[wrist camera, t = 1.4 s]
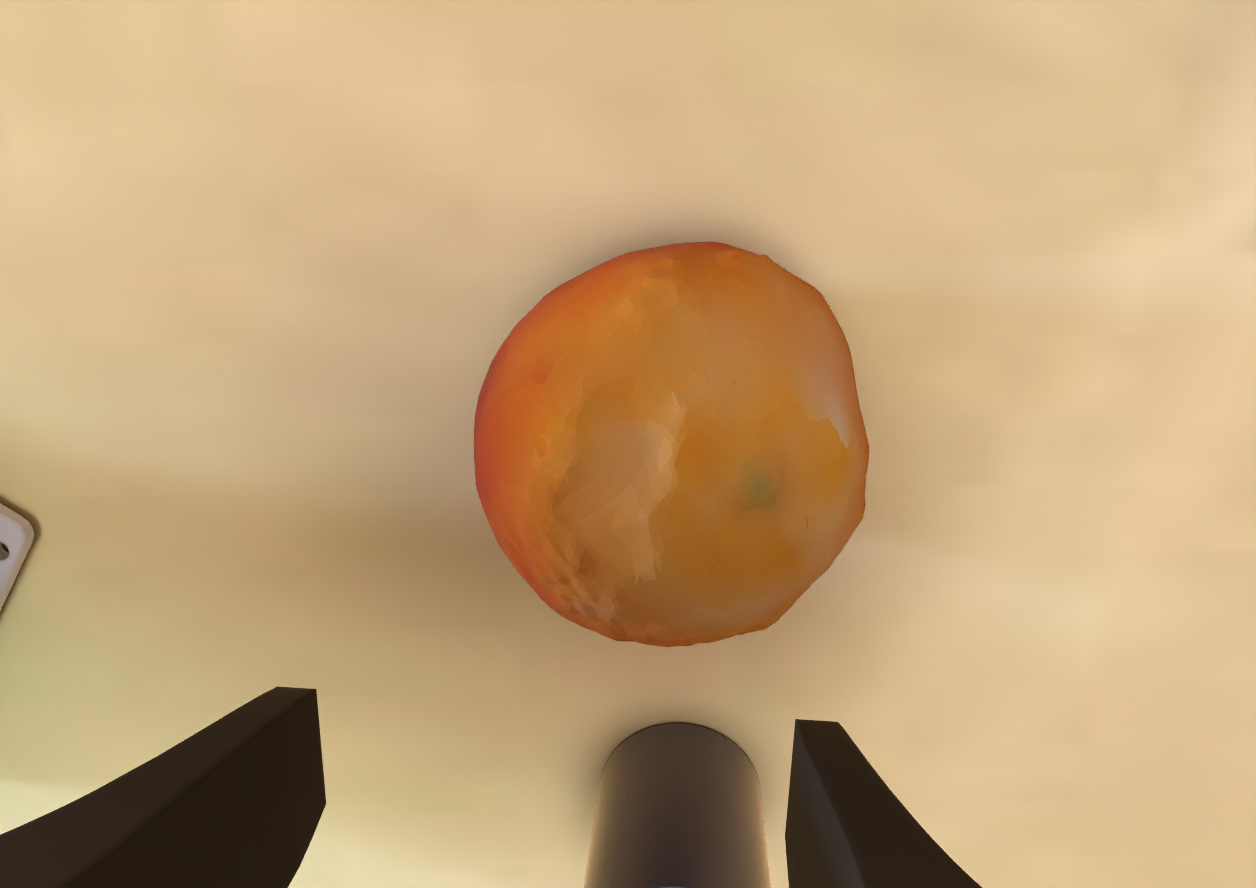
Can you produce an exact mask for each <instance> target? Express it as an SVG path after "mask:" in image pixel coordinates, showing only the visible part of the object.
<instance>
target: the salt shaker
mask: <svg viewBox="0 0 1256 888" xmlns="http://www.w3.org/2000/svg"><path fill="white" fill-rule="evenodd" d="M584 888H771V886H770V877H769V867H768V858H767V849H766V839H765V830H764V821H763V811H762V802H761V792H760V784H759V780H758V776H757V773H756V771H755V769H754V767H753V765H752V763H751V761H750V760H749V758H748V757H747V756H746V755H745V753H744V752H743V751H742V750H741V749H740V748H739V747H738V746H737V745H736V744H735V743H734V742H732V741H731V740H729V739H728V738H726V737H725V736H723V735H721V734H719V733H717V732H715V731H713V730H710V729H708V728H705V727H701V726H697V725H691V724H682V723H672V724H662V725H658V726H653V727H650V728H647V729H644V730H642V731H640V732H638V733H636V734H634V735H632V736H631V737H629V738H628V739H626V740H625V741H624V742H623V743H621V744H620V745H619V746H618V747H617V748H616V749H615V751H614V752H613V753H612V754H611V756H610V757H609V759H608V760H607V763H606V765H605V767H604V769H603V773H602V776H601V781H600V788H599V794H598V800H597V807H596V813H595V819H594V826H593V832H592V838H591V845H590V851H589V857H588V864H587V870H586V876H585V883H584Z"/></svg>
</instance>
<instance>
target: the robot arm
mask: <svg viewBox="0 0 1256 888" xmlns="http://www.w3.org/2000/svg"><path fill="white" fill-rule="evenodd" d="M33 539H34V531H33V527H32V526H31V524H30V523H29V521H28V520H26V519H25V518H24V517H23V516H21V515H19V514H18V513H16V512H14V511H12V510H11V509H9V508H7V507H6V506H4V505H2V504H1V503H0V611H1V609H2V606H3V604H4V602H5V600H6V598H7V596H8V594H9V591H10V589H11V587H12V585H13V583H14V581H15V579H16V576H17V574H18V572H19V570H20V568H21V566H22V564H23V561H24V559H25V557H26V555H27V553H28V551H29V549H30V546H31V544H32V542H33ZM1 542H2V543H3V544H5V545H6V546H7V548H8V550H9V553H7V552H6V551H5V550H4V549H3V548H2V546H1ZM325 805H326V797H325V786H324V774H323V763H322V751H321V740H320V728H319V717H318V705H317V694H316V689H305V688H289V687H276V688H274V689H272V690H270V691H268V692H266V693H264V694H262V695H260V696H258V697H257V698H255V699H253V700H251V701H250V702H248V703H246V704H244V705H243V706H241V707H239V708H238V709H236V710H234V711H233V712H231V713H229V714H228V715H226V716H224V717H223V718H221V719H219V720H218V721H216V722H214V723H213V724H211V725H209V726H208V727H206V728H204V729H203V730H201V731H199V732H198V733H196V734H194V735H193V736H191V737H189V738H187V739H186V740H184V741H182V742H181V743H179V744H177V745H176V746H174V747H172V748H171V749H169V750H167V751H166V752H164V753H162V754H160V755H159V756H157V757H155V758H153V759H152V760H150V761H148V762H146V763H144V764H142V765H141V766H139V767H137V768H135V769H133V770H131V771H130V772H128V773H126V774H124V775H122V776H121V777H119V778H117V779H115V780H113V781H111V782H110V783H108V784H106V785H104V786H102V787H100V788H99V789H97V790H95V791H93V792H91V793H89V794H87V795H85V796H83V797H81V798H79V799H77V800H75V801H73V802H71V803H69V804H67V805H65V806H63V807H61V808H59V809H57V810H55V811H53V812H50V813H48V814H46V815H44V816H42V817H39V818H37V819H35V820H33V821H31V822H28V823H26V824H24V825H22V826H20V827H17V828H15V829H13V830H11V831H8V832H6V833H4V834H1V835H0V888H288V886H289V884H290V883H291V881H292V879H293V877H294V875H295V874H296V872H297V870H298V868H299V867H300V864H301V862H302V860H303V858H304V855H305V853H306V851H307V849H308V846H309V844H310V842H311V839H312V837H313V835H314V832H315V830H316V827H317V825H318V822H319V820H320V817H321V815H322V812H323V810H324V808H325ZM785 841H786V854H787V867H788V880H789V888H982V887H981V886H980V885H979V884H977V883H976V882H975V881H974V880H973V879H972V878H971V877H970V876H969V875H968V874H967V873H965V872H964V871H963V870H962V869H961V868H960V867H959V866H958V865H957V864H956V863H955V862H954V861H953V860H952V859H951V858H950V857H949V856H948V855H947V854H946V853H945V852H944V851H943V849H942V848H941V847H940V846H939V845H938V844H937V843H936V842H935V841H934V840H933V839H932V838H931V837H930V836H929V835H928V833H927V832H926V831H925V830H924V829H923V828H922V827H921V826H920V825H919V823H918V822H917V821H916V820H915V819H914V818H913V816H912V815H911V814H910V813H909V812H908V810H907V809H906V808H905V807H904V806H903V805H902V803H901V802H900V801H899V800H898V799H897V797H896V796H895V795H894V794H893V793H892V791H891V790H890V789H889V788H888V786H887V785H886V784H885V783H884V781H883V780H882V779H881V778H880V776H879V775H878V774H877V772H876V771H875V770H874V769H873V767H872V766H871V765H870V763H869V762H868V761H867V759H866V758H865V757H864V755H863V754H862V753H861V751H860V750H859V749H858V747H857V746H856V745H855V743H854V742H853V741H852V739H851V738H850V736H849V735H848V734H847V732H846V731H845V730H844V728H843V727H842V726H841V725H840V724H839V723H838V722H831V721H815V720H799V719H796V720H795V731H794V742H793V753H792V765H791V776H790V787H789V798H788V810H787V821H786V832H785Z"/></svg>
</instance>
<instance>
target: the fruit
mask: <svg viewBox="0 0 1256 888" xmlns="http://www.w3.org/2000/svg"><path fill="white" fill-rule="evenodd" d="M868 459H869V444H868V440H867V435H866V431H865V427H864V423H863V419H862V415H861V411H860V407H859V401H858V396H857V390H856V383H855V376H854V369H853V364H852V358H851V353H850V350H849V346H848V343H847V341H846V338H845V336H844V334H843V331H842V329H841V327H840V325H839V324H838V322H837V320H836V318H835V316H834V315H833V313H832V311H831V309H830V308H829V306H828V304H827V303H826V301H825V299H824V298H823V296H822V294H821V293H820V292H819V291H817V290H816V289H815V288H814V287H813V286H811V285H810V284H808V283H806V282H805V281H803V280H801V279H800V278H798V277H796V276H795V275H793V274H791V273H790V272H788V271H787V270H785V269H784V268H782V267H781V266H779V265H778V264H776V263H774V262H773V261H772V260H771V259H770V258H769V257H767V256H765V255H758V254H755V253H752V252H749V251H746V250H743V249H739V248H736V247H733V246H730V245H727V244H723V243H717V242H696V243H681V244H672V245H667V246H661V247H656V248H650V249H645V250H640V251H635V252H629V253H626V254H623V255H621V256H618V257H616V258H614V259H611V260H609V261H607V262H604V263H602V264H600V265H598V266H596V267H594V268H592V269H590V270H588V271H586V272H585V273H583V274H581V275H579V276H577V277H575V278H573V279H571V280H569V281H568V282H566V283H564V284H562V285H560V286H558V287H557V288H555V289H554V290H552V291H551V292H550V293H548V294H547V295H546V296H544V297H543V298H542V299H541V301H540V302H539V303H538V304H537V305H536V306H535V307H534V308H533V309H532V310H531V311H530V312H529V313H528V314H527V315H526V316H525V317H524V318H523V319H522V320H521V321H520V322H519V323H518V324H517V325H516V326H515V327H514V329H513V330H512V331H511V333H510V334H509V336H508V337H507V338H506V340H505V341H504V343H503V344H502V346H501V347H500V349H499V351H498V352H497V354H496V356H495V357H494V359H493V361H492V362H491V365H490V367H489V370H488V373H487V375H486V378H485V380H484V383H483V386H482V388H481V391H480V394H479V398H478V403H477V408H476V414H475V426H474V460H475V477H476V486H477V491H478V494H479V497H480V500H481V503H482V506H483V509H484V512H485V514H486V517H487V519H488V522H489V524H490V526H491V528H492V530H493V533H494V535H495V537H496V539H497V541H498V543H499V545H500V547H501V548H502V550H503V551H504V553H505V554H506V555H507V557H508V558H509V560H510V561H511V563H512V564H513V566H514V567H515V568H516V570H517V571H518V572H519V573H520V575H521V576H522V577H523V578H524V579H525V580H526V581H527V583H528V584H529V585H530V586H531V587H532V588H533V589H534V591H535V592H536V593H537V594H538V595H539V596H540V598H541V599H542V600H543V601H545V602H546V603H547V604H548V605H549V606H550V607H551V608H552V609H553V610H555V611H556V612H557V613H559V614H560V615H562V616H563V617H565V618H566V619H568V620H570V621H572V622H574V623H576V624H578V625H580V626H582V627H584V628H587V629H590V630H593V631H596V632H598V633H600V634H602V635H604V636H606V637H609V638H611V639H614V640H617V641H634V642H638V643H643V644H647V645H655V646H664V647H672V646H690V645H693V644H697V643H709V642H715V641H718V640H722V639H725V638H729V637H732V636H735V635H742V634H745V633H749V632H754V631H758V630H764V629H766V628H768V627H769V626H771V625H772V624H774V623H775V622H776V621H778V620H779V619H780V617H781V616H782V615H783V614H784V613H785V612H786V611H787V610H788V609H789V608H790V607H791V606H792V605H793V604H794V603H795V602H796V600H797V599H798V598H799V597H800V596H801V595H802V594H803V593H804V592H805V591H806V590H807V589H808V588H809V587H810V585H811V584H812V583H813V582H814V581H815V580H817V579H818V578H819V577H820V576H821V575H822V574H823V573H824V572H825V571H826V570H827V569H828V568H829V567H830V565H831V564H832V563H833V561H834V560H835V559H836V557H837V556H838V555H839V553H840V552H841V551H842V550H843V548H844V546H845V545H846V543H847V542H848V540H849V538H850V537H851V535H852V533H853V532H854V530H855V529H856V527H857V526H858V525H859V523H860V522H861V520H862V519H863V514H864V510H865V483H866V472H867V467H868Z"/></svg>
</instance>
